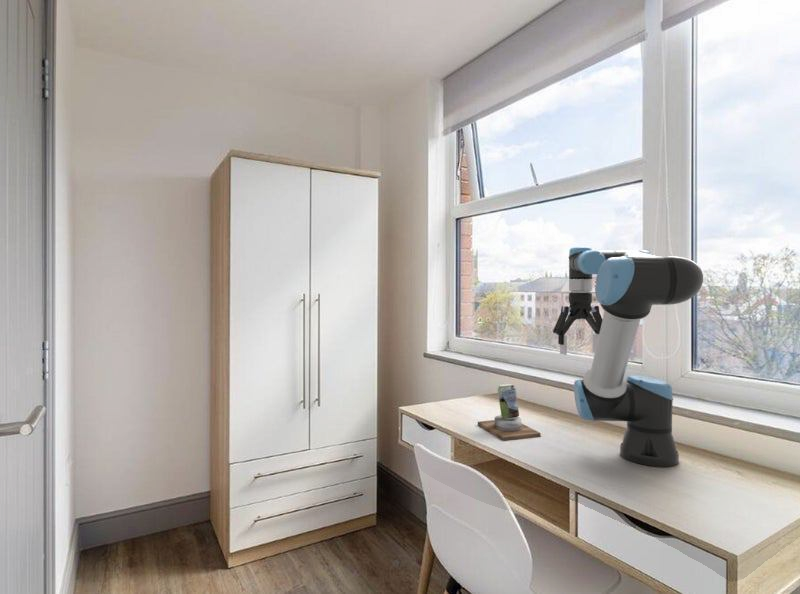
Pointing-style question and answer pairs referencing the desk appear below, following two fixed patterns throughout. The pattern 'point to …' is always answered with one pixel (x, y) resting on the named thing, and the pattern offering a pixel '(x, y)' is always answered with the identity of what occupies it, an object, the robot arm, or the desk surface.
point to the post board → (509, 434)
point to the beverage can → (508, 401)
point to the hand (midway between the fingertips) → (579, 353)
